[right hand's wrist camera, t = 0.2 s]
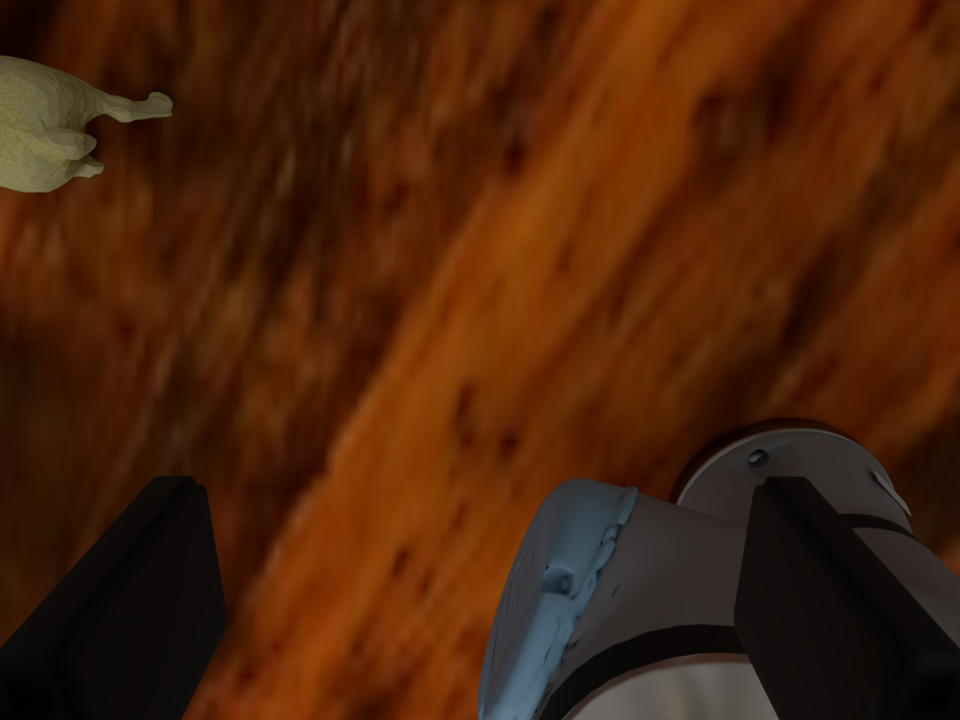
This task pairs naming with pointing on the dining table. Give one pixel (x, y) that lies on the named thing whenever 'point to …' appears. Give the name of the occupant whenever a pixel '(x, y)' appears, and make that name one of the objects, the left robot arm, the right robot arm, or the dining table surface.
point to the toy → (55, 124)
